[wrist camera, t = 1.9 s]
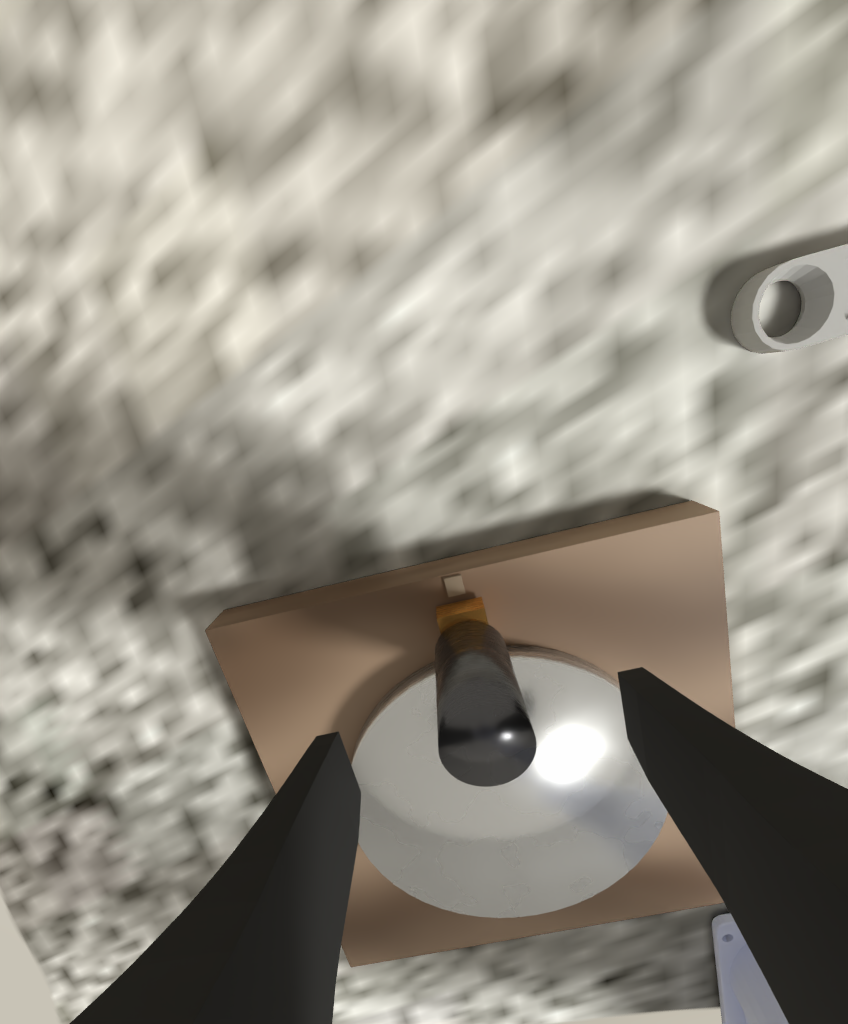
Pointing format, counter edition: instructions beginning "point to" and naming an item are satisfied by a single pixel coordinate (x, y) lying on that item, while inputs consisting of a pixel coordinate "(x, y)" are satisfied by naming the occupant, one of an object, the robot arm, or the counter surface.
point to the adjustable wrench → (824, 309)
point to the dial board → (521, 621)
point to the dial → (502, 777)
